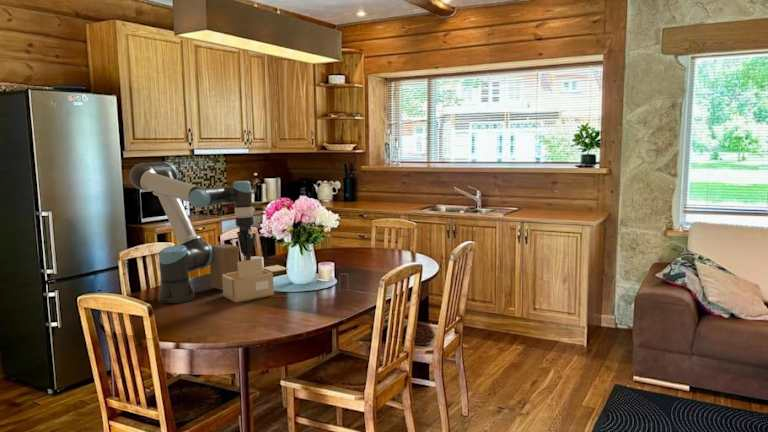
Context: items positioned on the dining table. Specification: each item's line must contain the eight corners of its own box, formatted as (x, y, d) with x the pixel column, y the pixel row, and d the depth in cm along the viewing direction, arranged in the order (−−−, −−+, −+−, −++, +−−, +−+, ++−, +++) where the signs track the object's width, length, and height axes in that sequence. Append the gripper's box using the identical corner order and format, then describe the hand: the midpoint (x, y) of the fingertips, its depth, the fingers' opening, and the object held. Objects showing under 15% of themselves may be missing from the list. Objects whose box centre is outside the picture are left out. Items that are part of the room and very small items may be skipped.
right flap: (287, 268, 267) (287, 269, 267) (277, 264, 275) (277, 266, 275) (271, 271, 262) (271, 272, 262) (262, 267, 270) (262, 268, 270)
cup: (267, 276, 298) (266, 256, 296) (253, 281, 287) (252, 261, 286) (254, 275, 301) (253, 255, 300) (239, 280, 290) (238, 260, 289)
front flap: (238, 278, 250) (239, 278, 250) (237, 261, 250) (237, 261, 250) (262, 273, 257) (262, 273, 257) (260, 258, 257) (261, 258, 257)
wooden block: (239, 287, 276) (239, 246, 274) (220, 290, 269) (220, 247, 267) (228, 284, 283) (228, 243, 281) (209, 287, 276) (209, 245, 274)
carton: (234, 303, 250) (233, 280, 249) (220, 296, 262) (219, 274, 261) (274, 295, 261) (273, 273, 260) (259, 288, 273) (258, 267, 272)
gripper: (258, 216, 250) (262, 270, 253) (246, 214, 260) (250, 266, 263) (242, 218, 246) (246, 273, 248) (230, 216, 256) (234, 269, 258)
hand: (248, 269), depth 256 cm, fingers closed
